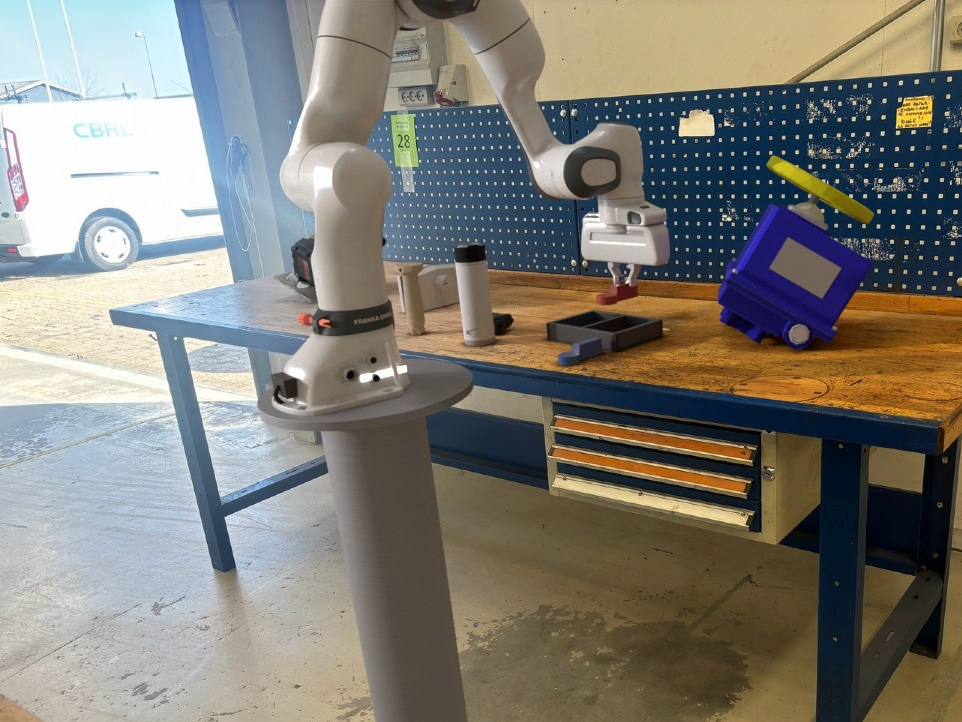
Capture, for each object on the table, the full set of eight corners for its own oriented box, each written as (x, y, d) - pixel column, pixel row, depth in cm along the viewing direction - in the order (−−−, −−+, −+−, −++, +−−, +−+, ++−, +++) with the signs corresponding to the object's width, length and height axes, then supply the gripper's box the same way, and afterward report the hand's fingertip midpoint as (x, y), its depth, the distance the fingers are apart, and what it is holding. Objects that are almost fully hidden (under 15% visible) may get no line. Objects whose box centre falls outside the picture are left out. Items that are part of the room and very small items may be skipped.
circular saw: (252, 292, 225) (274, 207, 213) (340, 269, 256) (363, 193, 243) (313, 333, 222) (338, 249, 210) (393, 305, 253) (420, 230, 240)
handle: (420, 337, 182) (410, 266, 176) (399, 334, 185) (389, 265, 180) (436, 332, 185) (427, 263, 180) (415, 329, 189) (406, 261, 184)
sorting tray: (616, 352, 161) (615, 334, 160) (547, 339, 173) (545, 322, 172) (663, 336, 170) (662, 319, 169) (594, 325, 183) (593, 309, 181)
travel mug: (469, 348, 170) (457, 246, 163) (461, 341, 176) (449, 243, 169) (499, 343, 172) (488, 243, 165) (490, 337, 178) (480, 240, 171)
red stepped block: (627, 295, 170) (626, 280, 169) (642, 297, 168) (641, 281, 167) (592, 304, 164) (591, 288, 163) (607, 306, 161) (606, 290, 160)
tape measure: (502, 336, 178) (500, 319, 177) (472, 336, 180) (470, 318, 179) (515, 329, 184) (513, 312, 183) (486, 328, 186) (484, 311, 185)
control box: (687, 306, 154) (776, 152, 144) (693, 287, 179) (769, 155, 169) (809, 376, 155) (907, 228, 145) (798, 348, 180) (880, 220, 170)
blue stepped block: (591, 351, 163) (590, 336, 162) (607, 354, 160) (606, 338, 159) (554, 363, 156) (552, 347, 155) (569, 366, 153) (568, 350, 152)
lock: (422, 315, 204) (417, 273, 200) (397, 312, 209) (391, 271, 205) (477, 300, 217) (473, 260, 213) (452, 297, 222) (448, 258, 219)
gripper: (571, 213, 166) (576, 284, 171) (651, 216, 153) (654, 292, 158) (593, 209, 170) (598, 278, 175) (673, 212, 157) (675, 286, 162)
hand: (625, 285), depth 166 cm, fingers closed on red stepped block, 2 cm apart
